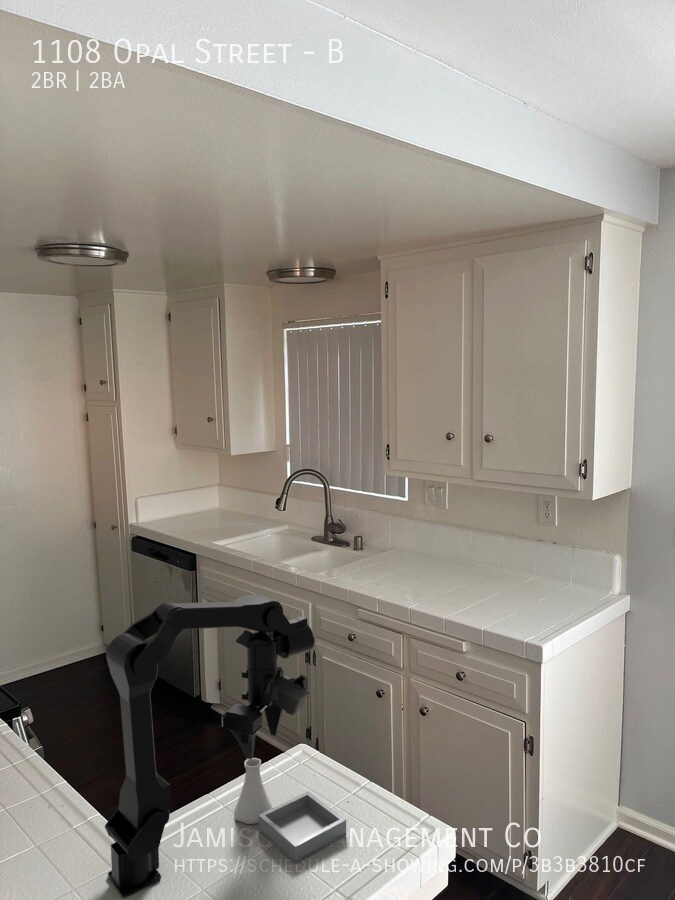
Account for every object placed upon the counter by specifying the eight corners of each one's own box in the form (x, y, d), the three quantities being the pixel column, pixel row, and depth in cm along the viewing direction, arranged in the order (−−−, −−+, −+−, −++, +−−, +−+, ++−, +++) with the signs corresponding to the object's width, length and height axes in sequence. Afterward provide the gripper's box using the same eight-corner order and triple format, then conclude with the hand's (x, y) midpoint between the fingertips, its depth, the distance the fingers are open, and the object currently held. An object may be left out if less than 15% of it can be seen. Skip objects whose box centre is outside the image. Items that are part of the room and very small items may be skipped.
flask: (267, 827, 123) (266, 774, 122) (228, 823, 124) (227, 771, 124) (277, 803, 130) (276, 753, 130) (240, 799, 132) (239, 750, 131)
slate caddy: (295, 863, 114) (295, 846, 114) (258, 830, 122) (258, 814, 122) (346, 835, 121) (346, 819, 121) (308, 806, 129) (308, 791, 129)
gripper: (277, 692, 114) (277, 782, 115) (322, 653, 131) (322, 732, 132) (220, 681, 118) (220, 767, 119) (271, 644, 135) (270, 721, 136)
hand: (261, 746), depth 127 cm, fingers open, 9 cm apart
